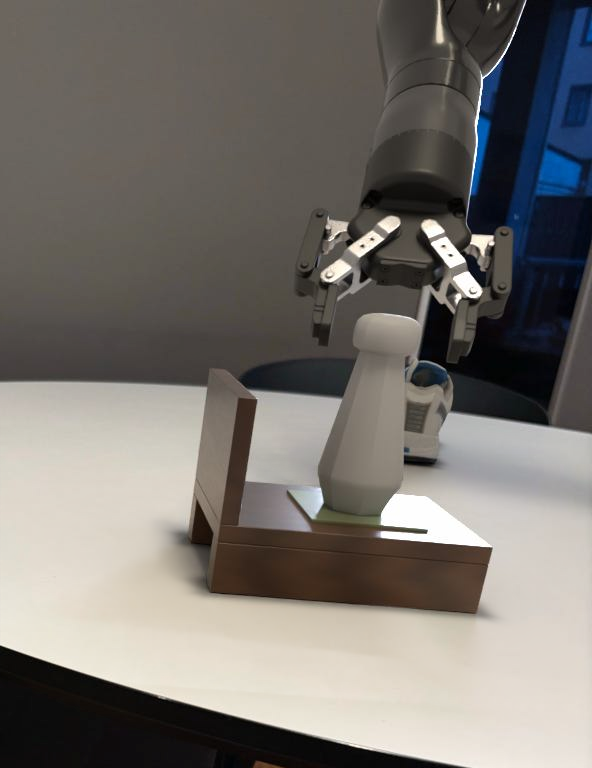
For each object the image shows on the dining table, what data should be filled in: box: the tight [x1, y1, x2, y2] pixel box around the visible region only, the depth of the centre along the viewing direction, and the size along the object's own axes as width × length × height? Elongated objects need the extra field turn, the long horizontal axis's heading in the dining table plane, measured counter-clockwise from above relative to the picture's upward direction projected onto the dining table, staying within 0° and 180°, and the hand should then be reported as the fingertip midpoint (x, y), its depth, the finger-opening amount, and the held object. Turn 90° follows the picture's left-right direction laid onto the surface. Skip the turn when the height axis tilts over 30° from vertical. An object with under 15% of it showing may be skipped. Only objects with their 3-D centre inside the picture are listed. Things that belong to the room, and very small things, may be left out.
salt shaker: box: [317, 312, 422, 515], centre depth 69 cm, size 6×6×13 cm
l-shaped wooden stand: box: [187, 367, 493, 614], centre depth 70 cm, size 18×13×13 cm
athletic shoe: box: [404, 356, 454, 463], centre depth 122 cm, size 10×23×12 cm, turn 174°
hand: (388, 346), depth 67 cm, fingers open, 8 cm apart
